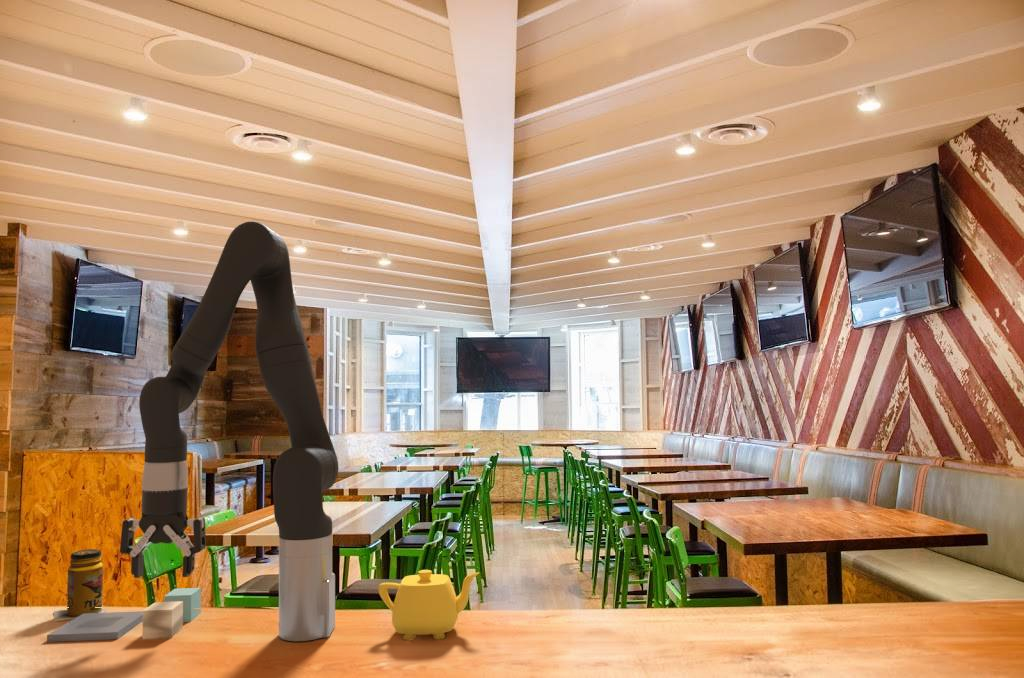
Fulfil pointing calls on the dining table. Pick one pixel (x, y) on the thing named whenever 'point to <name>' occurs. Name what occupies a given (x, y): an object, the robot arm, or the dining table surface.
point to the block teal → (186, 601)
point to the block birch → (162, 620)
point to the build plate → (97, 626)
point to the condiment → (83, 585)
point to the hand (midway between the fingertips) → (162, 576)
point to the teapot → (425, 604)
